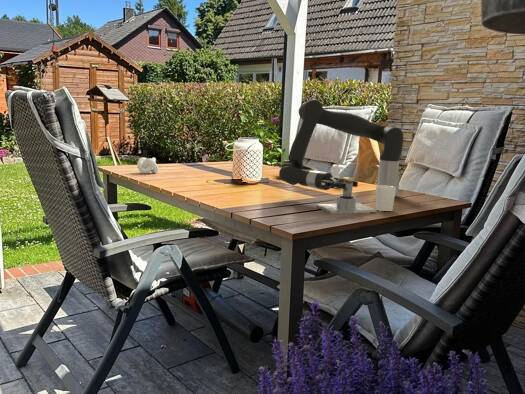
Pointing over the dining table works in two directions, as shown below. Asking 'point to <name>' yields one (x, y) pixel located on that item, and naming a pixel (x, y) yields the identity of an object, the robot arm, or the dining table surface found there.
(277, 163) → the stone bowl
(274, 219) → the dining table surface
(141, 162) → the white animal figurine
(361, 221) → the dining table surface
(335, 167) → the sitting furry creature
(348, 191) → the hinge pin
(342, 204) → the hinge leaves
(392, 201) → the white cup
